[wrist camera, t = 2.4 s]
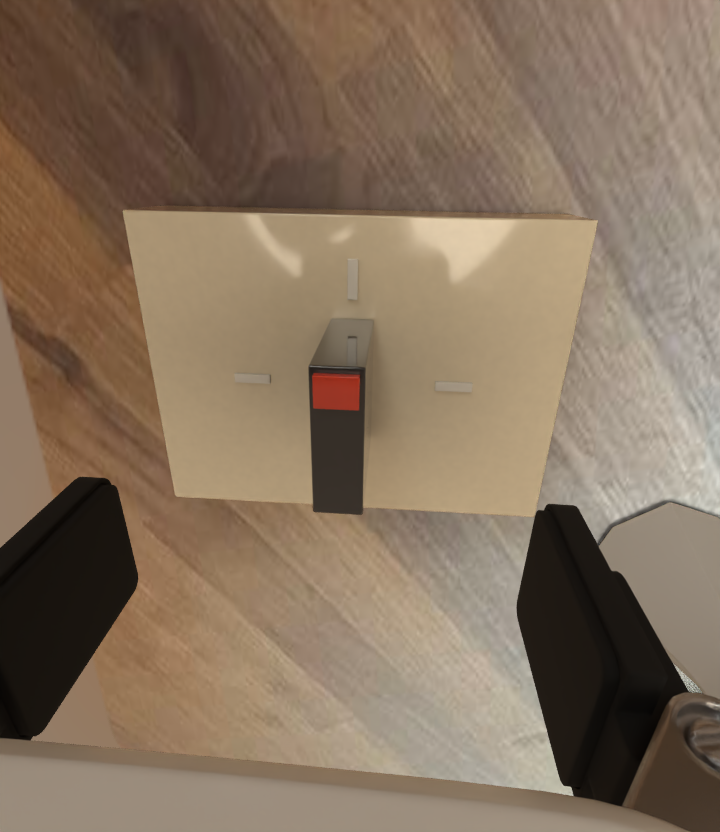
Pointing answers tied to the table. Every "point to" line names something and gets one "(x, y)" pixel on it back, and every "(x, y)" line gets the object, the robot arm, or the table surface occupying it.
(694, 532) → the flask
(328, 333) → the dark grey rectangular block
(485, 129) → the table surface
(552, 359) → the beige lever switch base
